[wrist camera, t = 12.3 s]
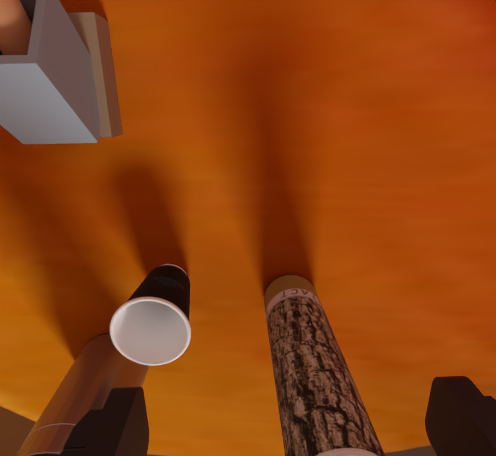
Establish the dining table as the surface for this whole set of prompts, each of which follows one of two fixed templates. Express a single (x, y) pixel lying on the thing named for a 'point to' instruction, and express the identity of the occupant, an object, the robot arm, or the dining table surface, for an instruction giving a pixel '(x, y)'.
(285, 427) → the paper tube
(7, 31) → the dowel
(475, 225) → the dining table surface
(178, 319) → the dixie cup
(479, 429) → the robot arm
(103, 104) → the socket
